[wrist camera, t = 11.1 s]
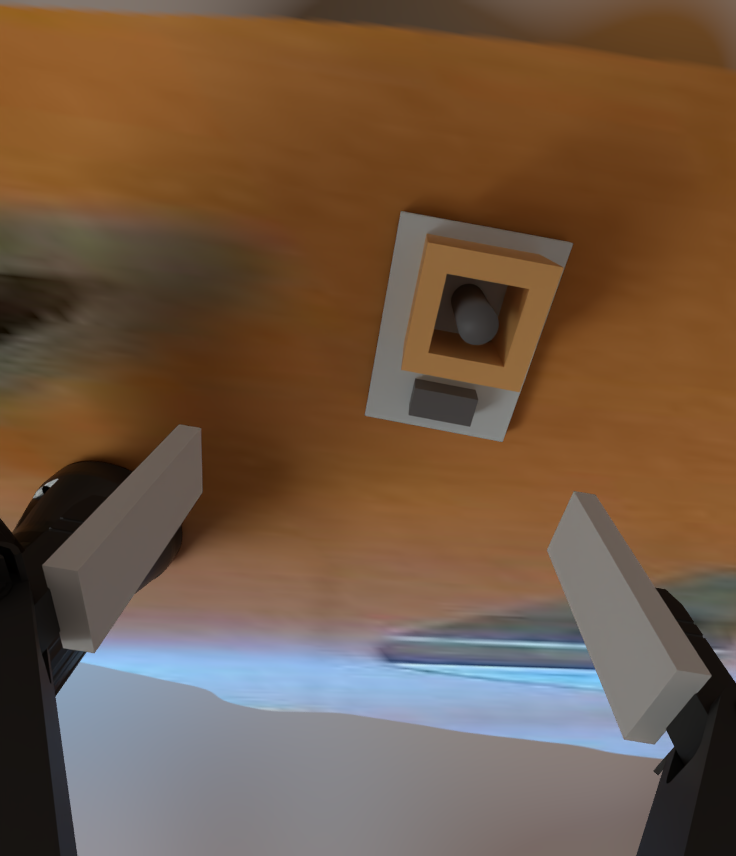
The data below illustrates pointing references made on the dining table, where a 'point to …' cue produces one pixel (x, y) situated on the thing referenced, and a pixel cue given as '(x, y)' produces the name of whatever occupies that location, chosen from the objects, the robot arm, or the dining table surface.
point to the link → (518, 316)
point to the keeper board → (458, 313)
